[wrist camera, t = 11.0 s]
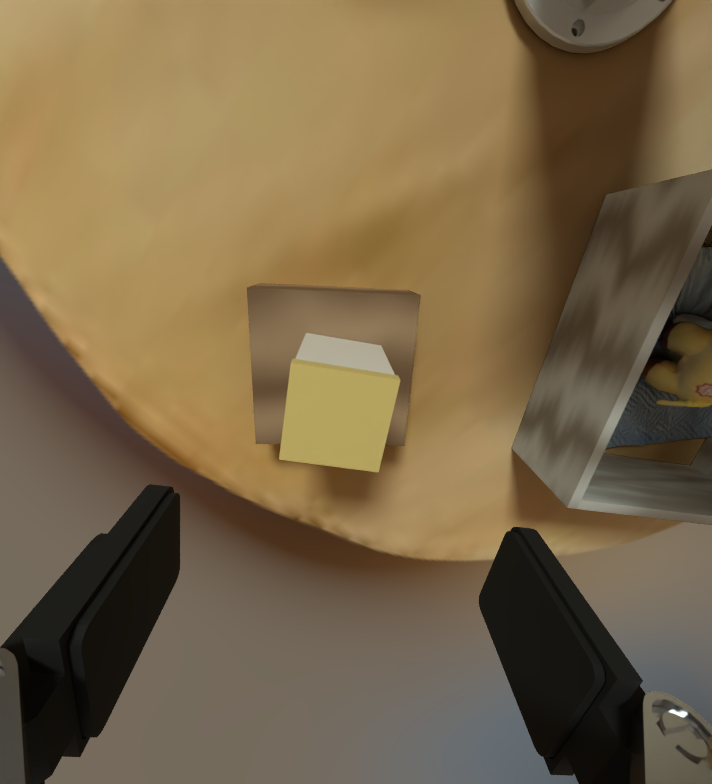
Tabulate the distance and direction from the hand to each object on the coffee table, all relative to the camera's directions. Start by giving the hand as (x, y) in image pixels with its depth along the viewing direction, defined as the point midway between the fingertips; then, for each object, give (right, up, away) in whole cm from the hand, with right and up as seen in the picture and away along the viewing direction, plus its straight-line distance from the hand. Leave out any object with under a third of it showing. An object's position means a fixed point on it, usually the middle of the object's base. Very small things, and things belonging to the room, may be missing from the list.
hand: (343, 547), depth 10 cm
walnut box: (-2, +7, +21) cm, 23 cm away
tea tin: (-1, +6, +17) cm, 18 cm away
